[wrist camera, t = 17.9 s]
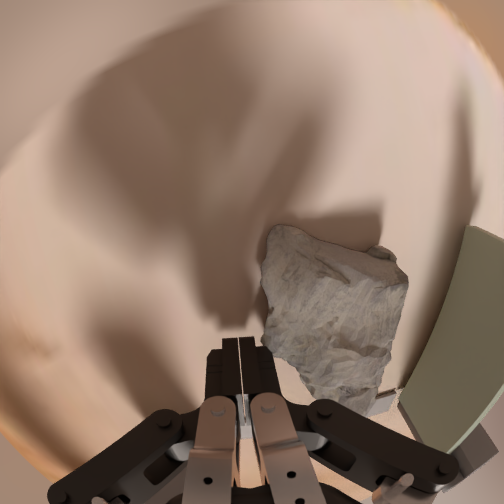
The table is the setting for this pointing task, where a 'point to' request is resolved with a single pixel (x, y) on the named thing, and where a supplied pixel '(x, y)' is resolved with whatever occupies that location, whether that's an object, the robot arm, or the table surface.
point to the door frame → (467, 453)
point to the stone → (332, 313)
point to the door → (462, 349)
